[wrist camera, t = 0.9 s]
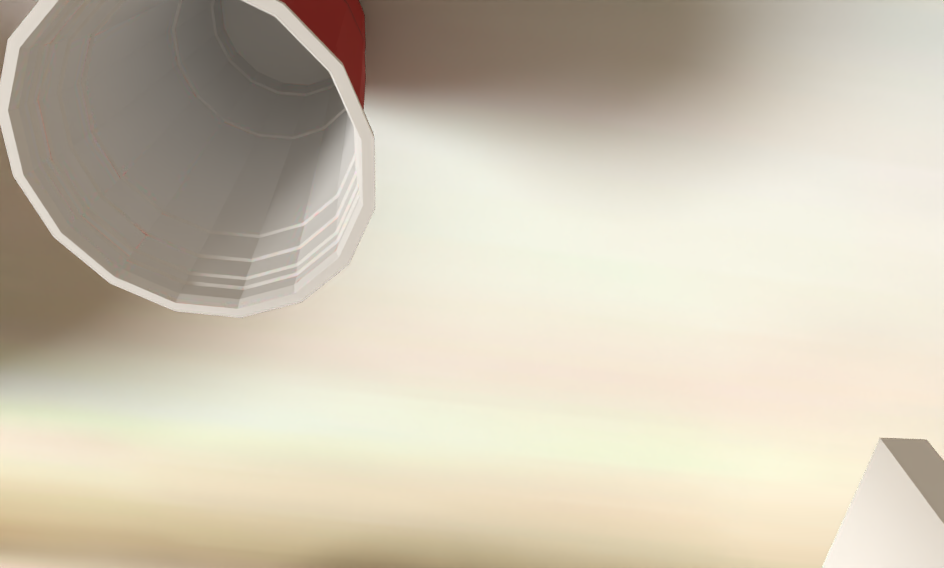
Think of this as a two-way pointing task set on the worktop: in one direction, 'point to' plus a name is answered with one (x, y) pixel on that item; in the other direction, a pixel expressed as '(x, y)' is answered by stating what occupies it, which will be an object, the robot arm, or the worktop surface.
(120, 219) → the plastic cup
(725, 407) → the worktop surface
